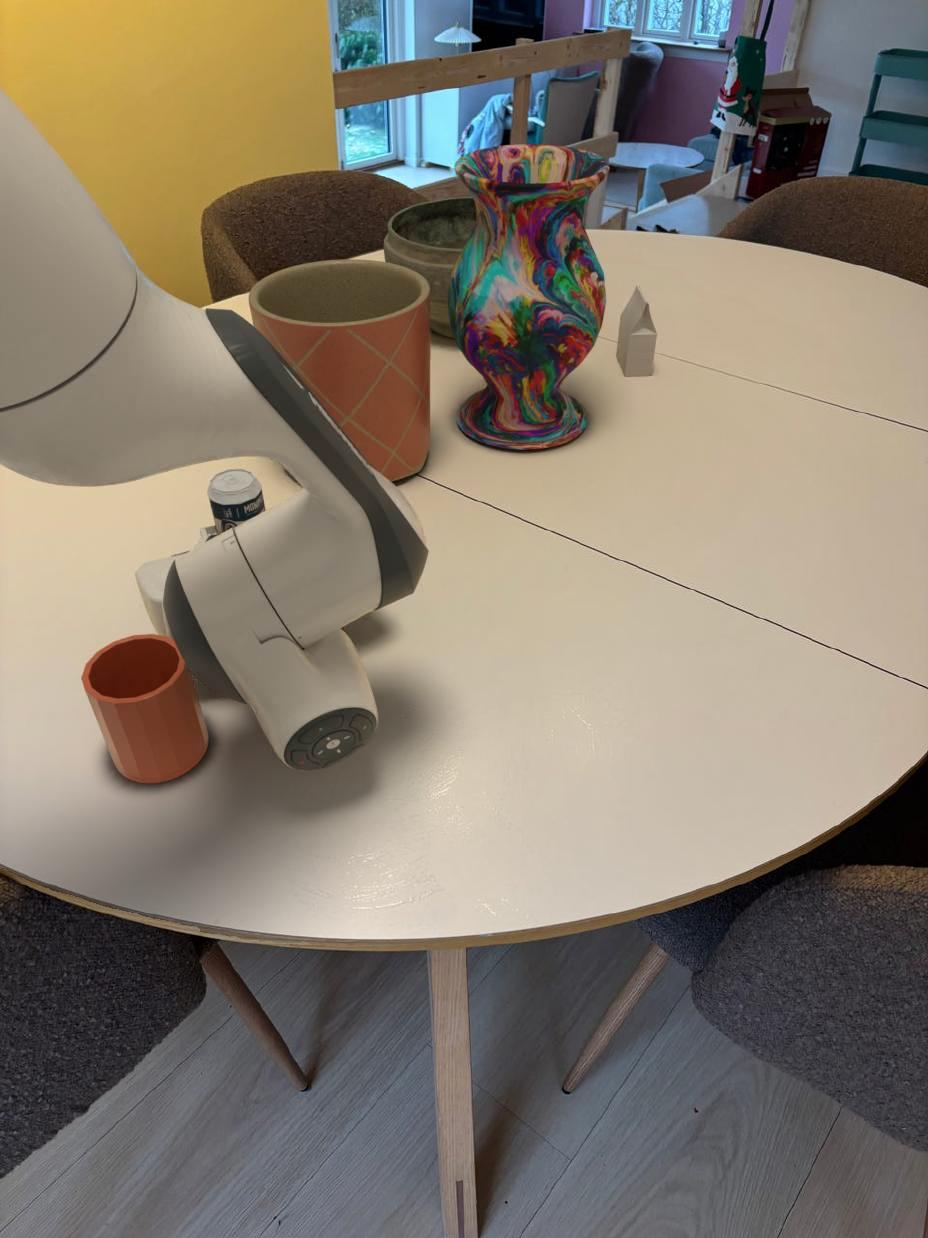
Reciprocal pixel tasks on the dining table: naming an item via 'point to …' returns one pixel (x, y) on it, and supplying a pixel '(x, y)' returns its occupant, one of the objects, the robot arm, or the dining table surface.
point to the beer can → (234, 498)
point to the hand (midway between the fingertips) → (240, 525)
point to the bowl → (432, 247)
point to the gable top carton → (636, 337)
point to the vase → (527, 291)
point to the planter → (357, 350)
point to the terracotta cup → (146, 707)
